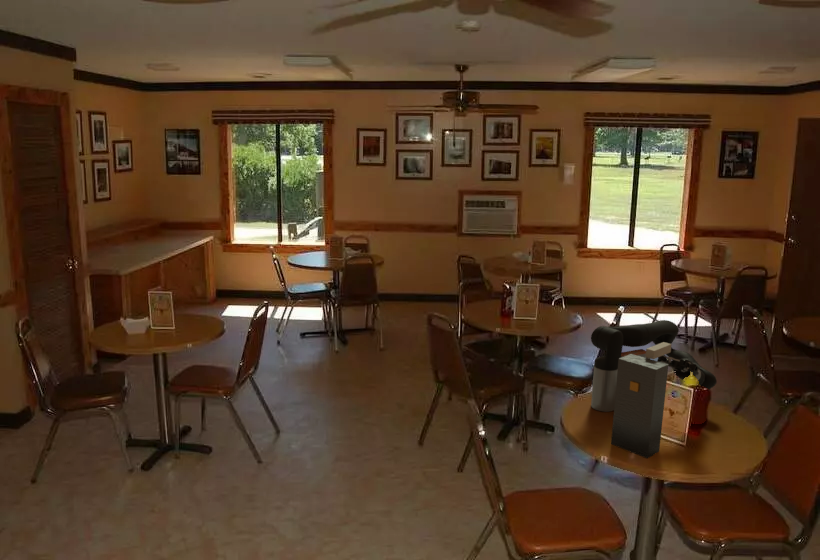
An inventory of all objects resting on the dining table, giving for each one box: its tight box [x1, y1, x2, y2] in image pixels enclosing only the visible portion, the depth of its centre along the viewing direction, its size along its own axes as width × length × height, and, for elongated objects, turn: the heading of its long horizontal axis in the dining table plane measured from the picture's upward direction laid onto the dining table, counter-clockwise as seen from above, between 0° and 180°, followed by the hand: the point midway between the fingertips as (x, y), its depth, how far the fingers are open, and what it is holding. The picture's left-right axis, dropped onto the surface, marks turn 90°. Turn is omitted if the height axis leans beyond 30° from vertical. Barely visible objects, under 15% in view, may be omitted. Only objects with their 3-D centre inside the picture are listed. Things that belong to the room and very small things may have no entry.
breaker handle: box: [645, 342, 673, 360], centre depth 232 cm, size 12×3×3 cm, turn 131°
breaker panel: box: [610, 354, 669, 459], centre depth 229 cm, size 9×14×32 cm, turn 41°
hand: (671, 358), depth 240 cm, fingers open, 8 cm apart
